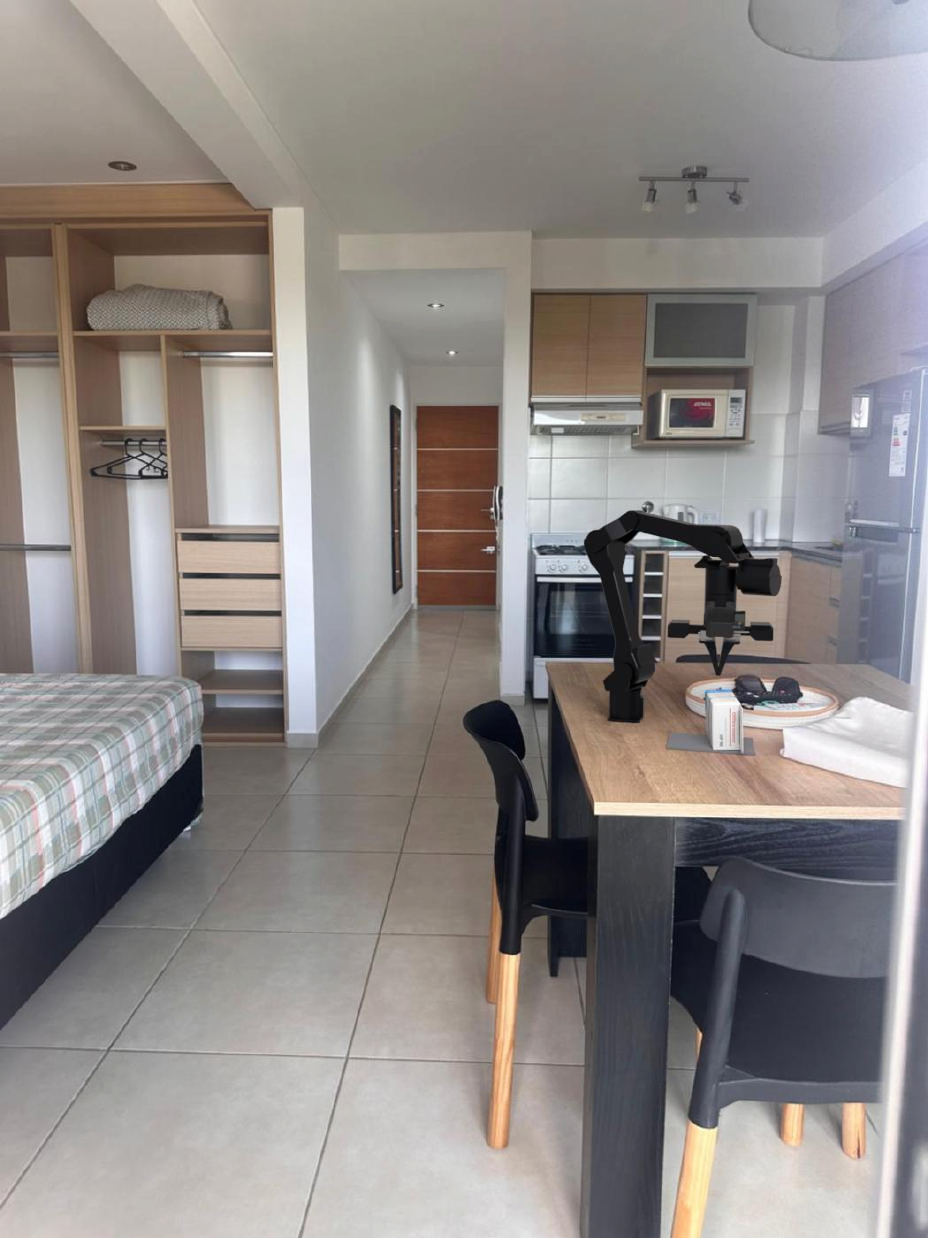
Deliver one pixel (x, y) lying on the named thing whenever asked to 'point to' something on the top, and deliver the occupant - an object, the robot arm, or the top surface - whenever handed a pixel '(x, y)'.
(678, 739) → the mat
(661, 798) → the top surface
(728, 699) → the ink box
